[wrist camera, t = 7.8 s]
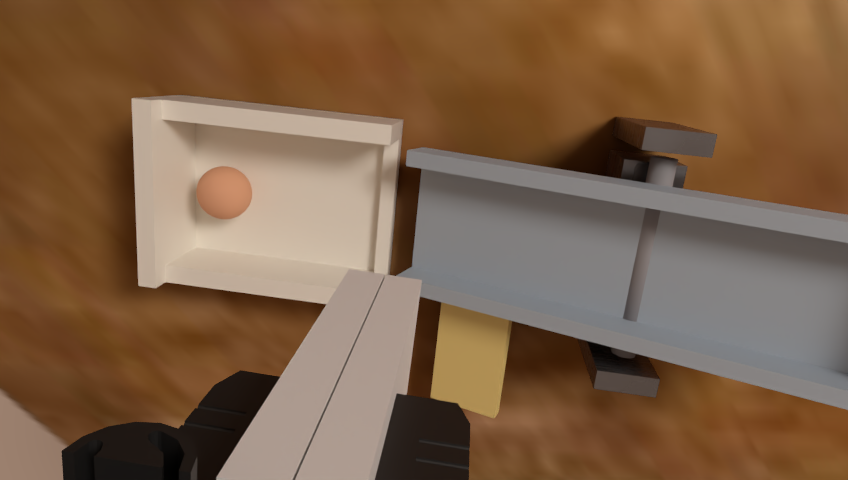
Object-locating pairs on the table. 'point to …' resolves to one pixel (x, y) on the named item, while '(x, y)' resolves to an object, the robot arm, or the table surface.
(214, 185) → the ball
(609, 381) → the fulcrum
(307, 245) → the tray
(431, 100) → the table surface
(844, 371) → the lever
